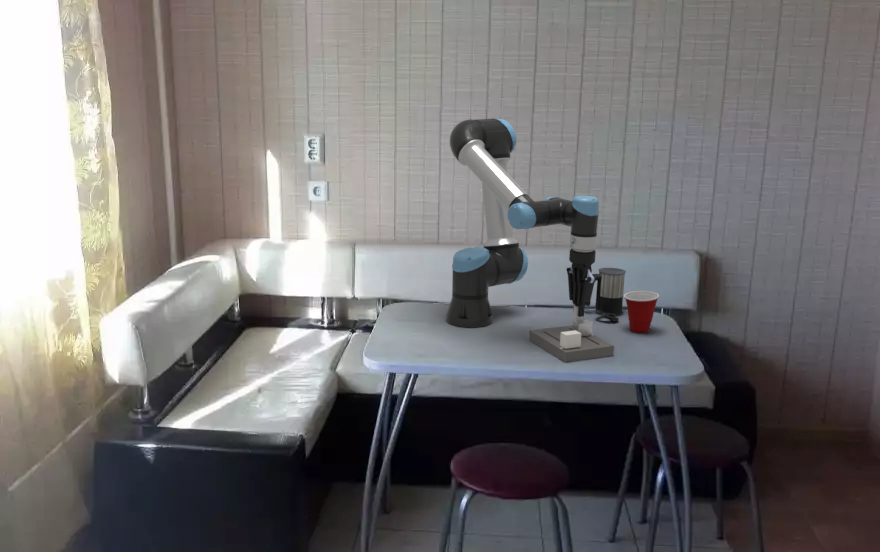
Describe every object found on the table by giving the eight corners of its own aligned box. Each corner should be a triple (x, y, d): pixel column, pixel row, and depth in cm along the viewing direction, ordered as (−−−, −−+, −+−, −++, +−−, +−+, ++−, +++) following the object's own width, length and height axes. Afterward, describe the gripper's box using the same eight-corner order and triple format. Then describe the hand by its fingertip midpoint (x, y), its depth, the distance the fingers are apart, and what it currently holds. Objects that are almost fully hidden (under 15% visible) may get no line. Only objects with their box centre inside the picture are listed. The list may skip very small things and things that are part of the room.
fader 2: (572, 333, 245) (573, 321, 244) (586, 332, 247) (587, 319, 246) (577, 336, 242) (578, 323, 241) (592, 335, 244) (593, 322, 243)
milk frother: (612, 307, 284) (615, 266, 281) (640, 320, 270) (643, 276, 267) (577, 311, 279) (580, 269, 275) (604, 325, 265) (606, 280, 261)
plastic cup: (618, 324, 265) (621, 289, 262) (652, 325, 265) (655, 290, 262) (623, 335, 255) (626, 298, 252) (659, 336, 254) (662, 299, 251)
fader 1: (559, 345, 234) (560, 332, 234) (575, 343, 236) (575, 330, 235) (565, 348, 232) (566, 335, 231) (580, 346, 234) (581, 333, 233)
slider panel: (529, 339, 249) (529, 330, 249) (574, 334, 255) (575, 324, 255) (565, 362, 231) (565, 352, 230) (613, 355, 237) (614, 345, 236)
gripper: (560, 245, 245) (555, 320, 251) (583, 254, 233) (578, 333, 239) (581, 243, 248) (577, 318, 254) (606, 253, 236) (600, 331, 242)
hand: (577, 325), depth 246 cm, fingers closed
